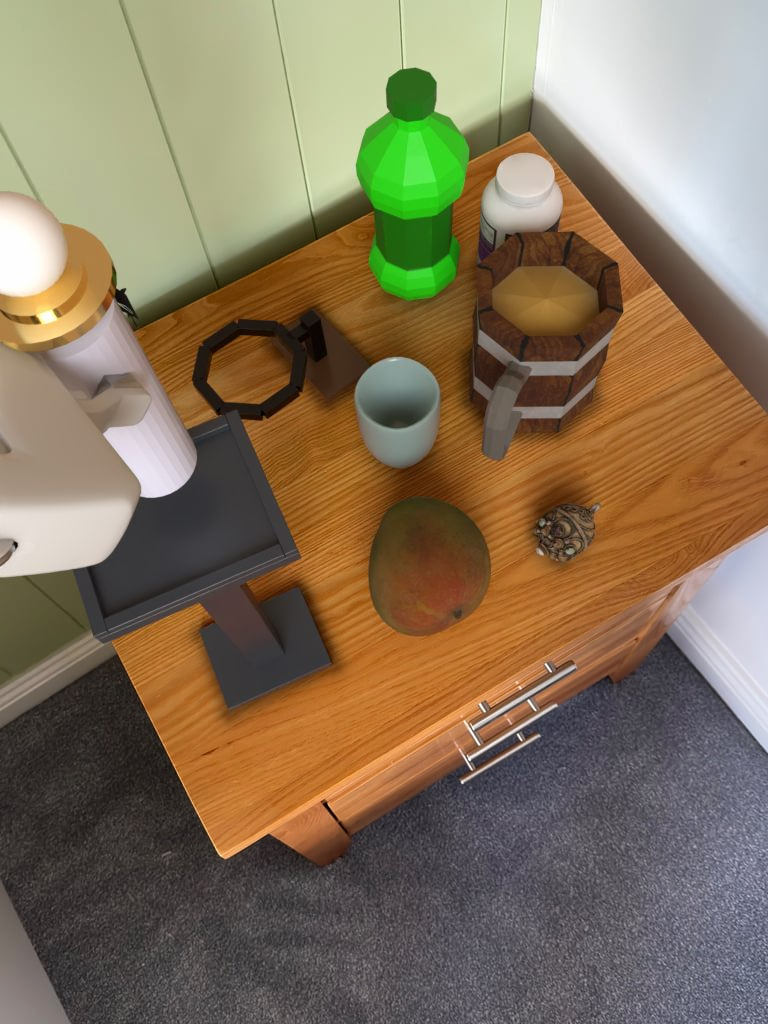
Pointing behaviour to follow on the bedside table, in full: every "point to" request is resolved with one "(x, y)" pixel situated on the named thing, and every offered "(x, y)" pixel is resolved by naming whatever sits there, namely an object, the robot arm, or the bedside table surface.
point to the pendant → (565, 531)
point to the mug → (540, 333)
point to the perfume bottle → (85, 332)
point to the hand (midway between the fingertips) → (103, 356)
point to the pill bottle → (518, 201)
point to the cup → (398, 411)
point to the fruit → (427, 566)
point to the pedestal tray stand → (212, 570)
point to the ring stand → (306, 349)
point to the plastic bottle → (413, 188)
